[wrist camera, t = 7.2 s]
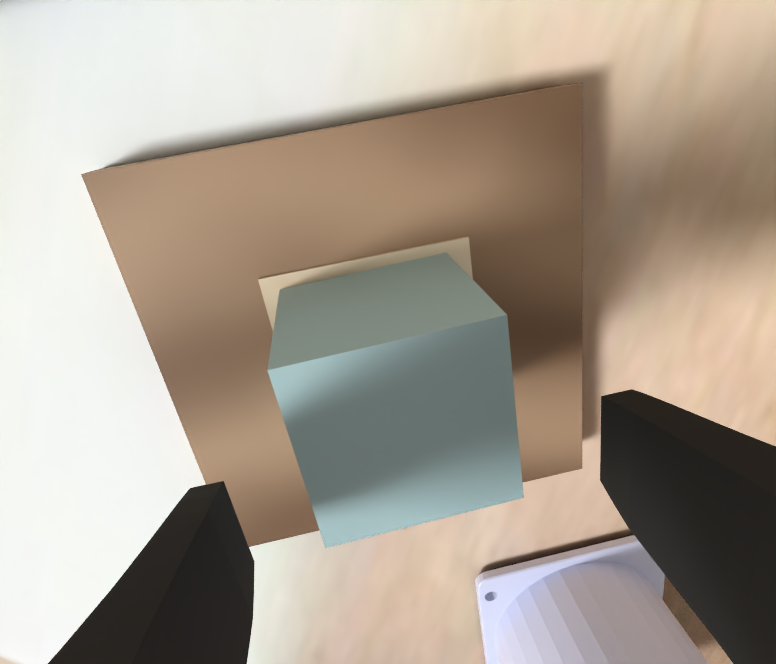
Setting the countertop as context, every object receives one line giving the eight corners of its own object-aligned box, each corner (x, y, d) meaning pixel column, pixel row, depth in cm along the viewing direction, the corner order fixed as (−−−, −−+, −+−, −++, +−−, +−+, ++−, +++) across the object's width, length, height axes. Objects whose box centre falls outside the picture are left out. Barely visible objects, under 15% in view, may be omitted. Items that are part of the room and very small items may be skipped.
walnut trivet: (565, 447, 18) (583, 470, 17) (237, 523, 18) (232, 552, 16) (560, 85, 13) (584, 83, 12) (100, 168, 13) (79, 174, 11)
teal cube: (466, 394, 15) (523, 497, 11) (320, 429, 15) (325, 547, 11) (446, 252, 13) (507, 314, 9) (279, 289, 13) (267, 370, 9)
